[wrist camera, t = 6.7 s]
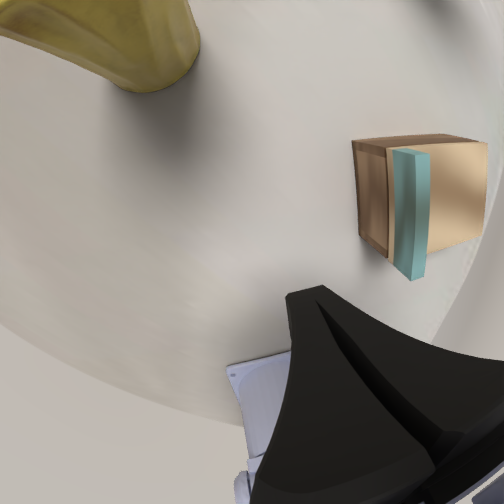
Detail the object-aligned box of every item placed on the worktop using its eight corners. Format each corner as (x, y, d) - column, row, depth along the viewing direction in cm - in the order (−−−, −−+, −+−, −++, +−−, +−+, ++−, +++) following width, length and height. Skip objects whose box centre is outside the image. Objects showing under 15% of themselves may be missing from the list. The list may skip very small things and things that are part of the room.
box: (443, 213, 21) (474, 230, 18) (358, 234, 21) (386, 258, 17) (443, 133, 18) (478, 141, 14) (351, 140, 18) (383, 147, 14)
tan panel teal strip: (476, 232, 17) (499, 246, 15) (388, 260, 17) (410, 281, 15) (481, 141, 14) (508, 149, 12) (386, 147, 14) (415, 155, 11)
